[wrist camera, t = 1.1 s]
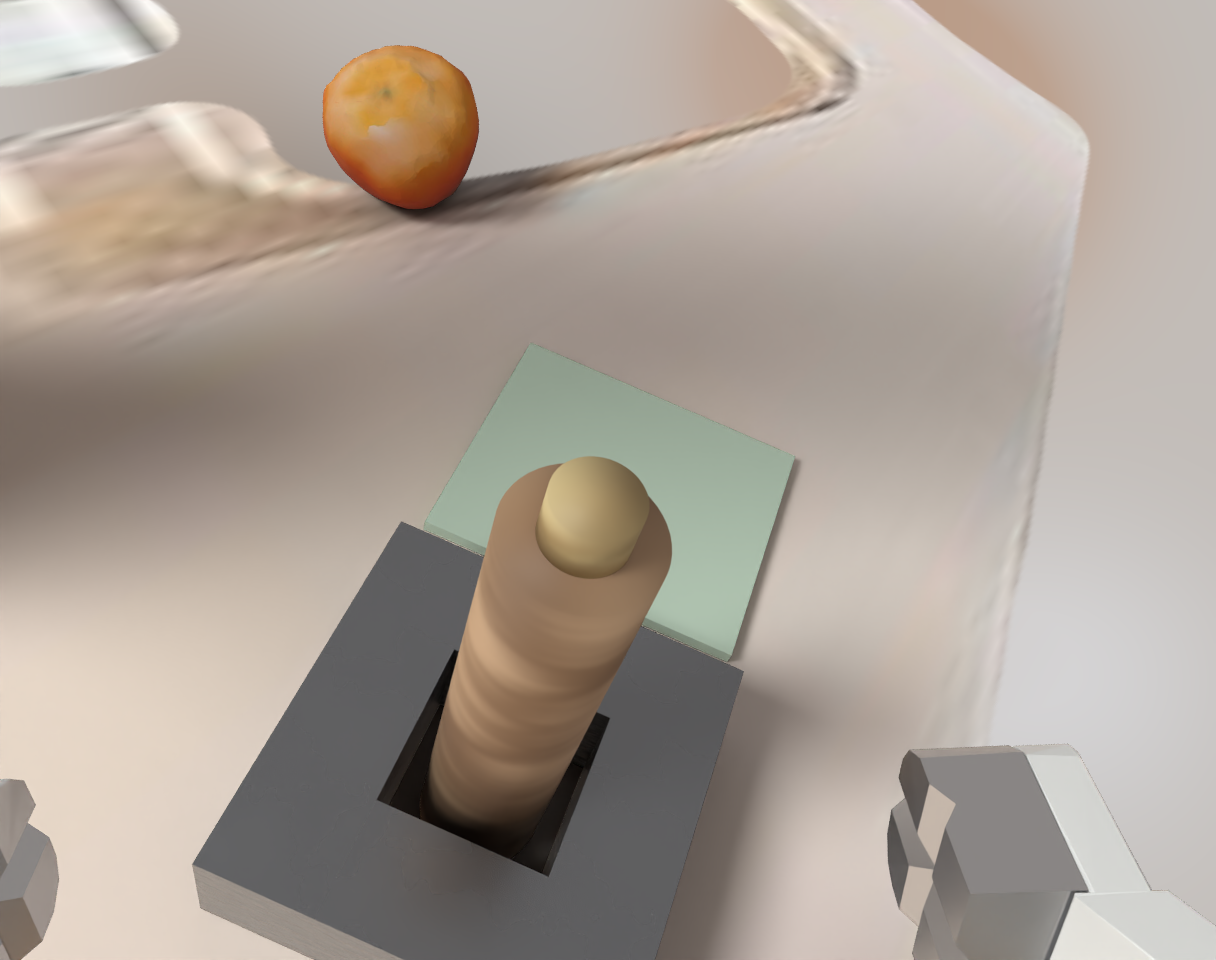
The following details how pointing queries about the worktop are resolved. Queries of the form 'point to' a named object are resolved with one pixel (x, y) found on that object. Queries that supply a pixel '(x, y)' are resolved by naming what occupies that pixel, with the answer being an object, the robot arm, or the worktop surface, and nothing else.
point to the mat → (665, 464)
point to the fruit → (402, 125)
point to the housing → (429, 856)
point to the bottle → (542, 644)
